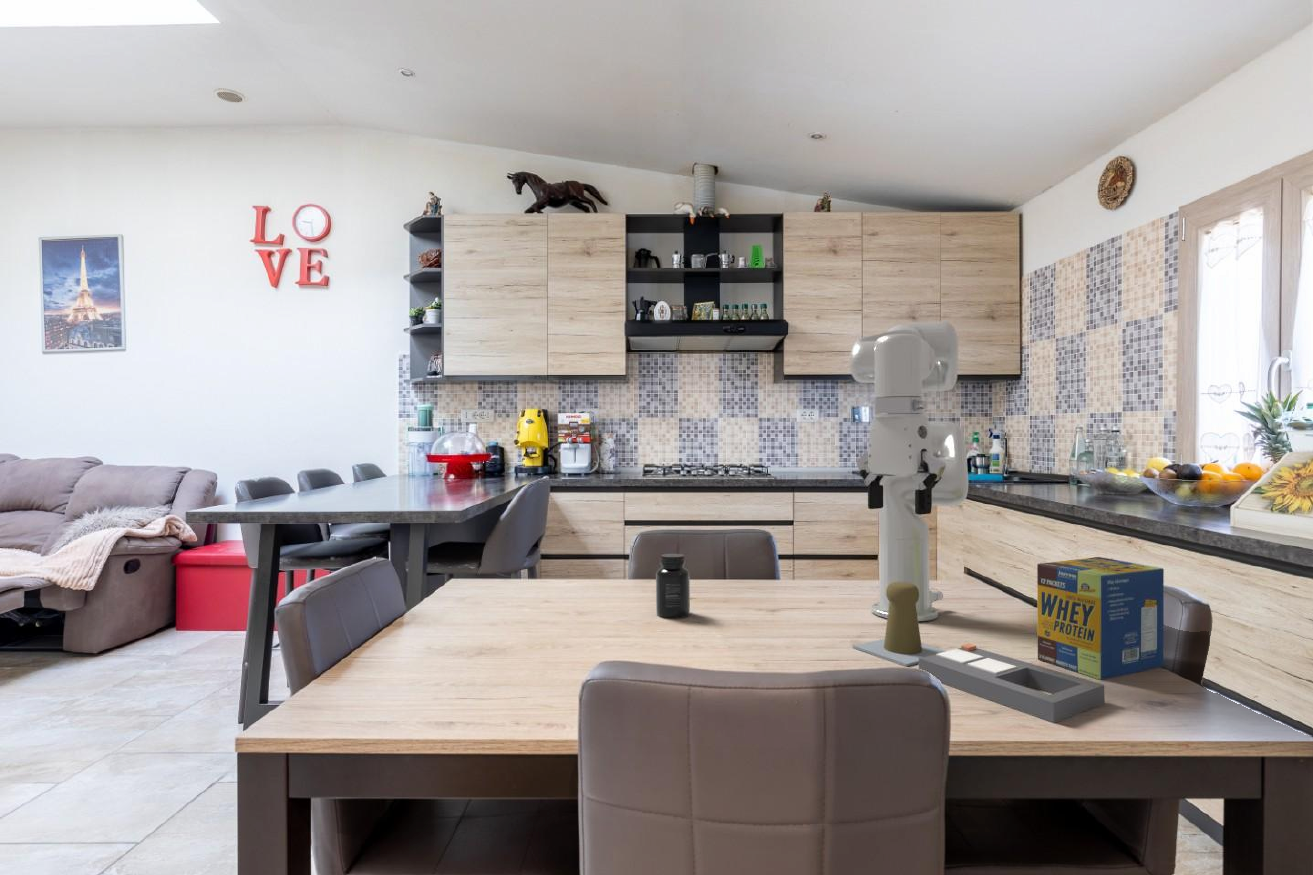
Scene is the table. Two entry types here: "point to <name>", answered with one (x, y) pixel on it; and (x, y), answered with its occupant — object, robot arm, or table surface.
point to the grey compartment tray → (1014, 682)
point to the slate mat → (902, 659)
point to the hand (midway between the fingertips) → (898, 511)
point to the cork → (902, 619)
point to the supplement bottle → (672, 587)
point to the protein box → (1100, 616)
